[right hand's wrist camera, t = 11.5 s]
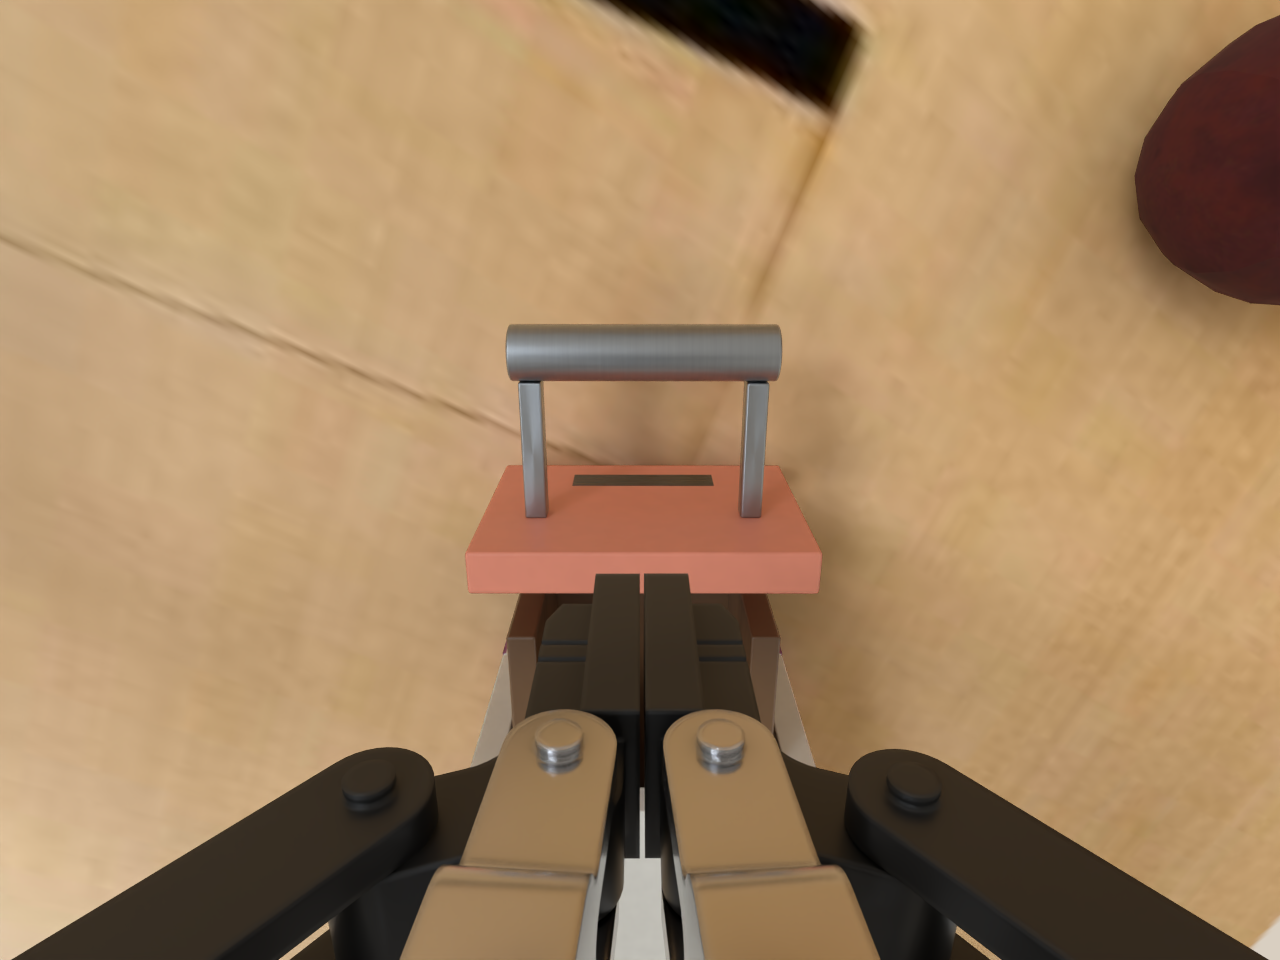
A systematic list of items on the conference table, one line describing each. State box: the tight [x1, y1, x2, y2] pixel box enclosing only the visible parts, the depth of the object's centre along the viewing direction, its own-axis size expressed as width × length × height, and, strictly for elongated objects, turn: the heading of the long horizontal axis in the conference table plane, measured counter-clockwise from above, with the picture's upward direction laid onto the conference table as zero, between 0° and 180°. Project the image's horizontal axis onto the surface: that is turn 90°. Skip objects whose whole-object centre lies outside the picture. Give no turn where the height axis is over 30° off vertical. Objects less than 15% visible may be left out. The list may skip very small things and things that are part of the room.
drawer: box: [465, 324, 822, 787], centre depth 24 cm, size 20×9×7 cm, turn 0°
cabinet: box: [470, 641, 816, 960], centre depth 28 cm, size 16×10×9 cm, turn 0°
